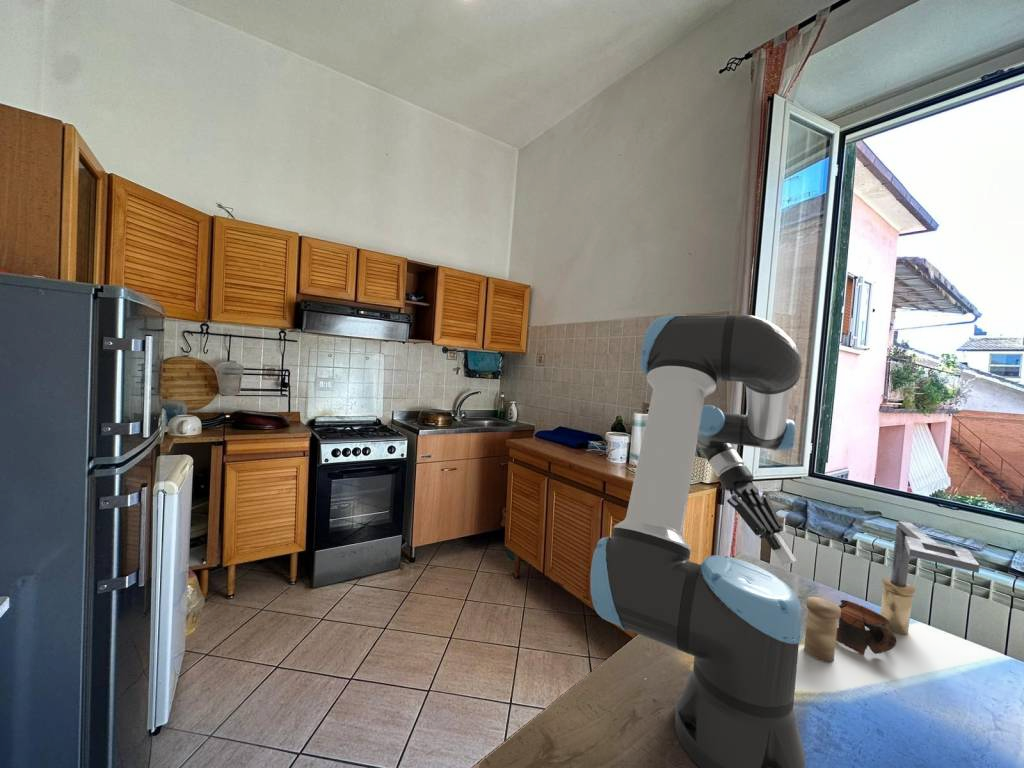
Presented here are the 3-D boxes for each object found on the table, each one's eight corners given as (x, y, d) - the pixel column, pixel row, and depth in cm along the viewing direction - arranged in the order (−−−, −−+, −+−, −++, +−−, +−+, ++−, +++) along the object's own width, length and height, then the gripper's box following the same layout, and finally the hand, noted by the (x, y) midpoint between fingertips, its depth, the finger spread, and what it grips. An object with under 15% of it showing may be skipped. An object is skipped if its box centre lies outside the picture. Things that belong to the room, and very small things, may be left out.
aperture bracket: (882, 671, 73) (896, 545, 72) (877, 617, 90) (887, 515, 89) (963, 701, 67) (979, 565, 66) (941, 638, 84) (953, 529, 83)
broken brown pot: (812, 630, 85) (825, 591, 87) (853, 654, 85) (865, 614, 87) (869, 655, 73) (882, 609, 75) (916, 682, 73) (928, 636, 75)
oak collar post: (800, 653, 76) (805, 604, 76) (803, 640, 80) (808, 593, 80) (835, 667, 73) (840, 615, 73) (836, 653, 77) (841, 604, 77)
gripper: (738, 477, 115) (794, 565, 100) (704, 479, 109) (758, 573, 95) (758, 462, 110) (821, 553, 95) (723, 464, 104) (784, 560, 90)
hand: (789, 563), depth 95 cm, fingers closed
